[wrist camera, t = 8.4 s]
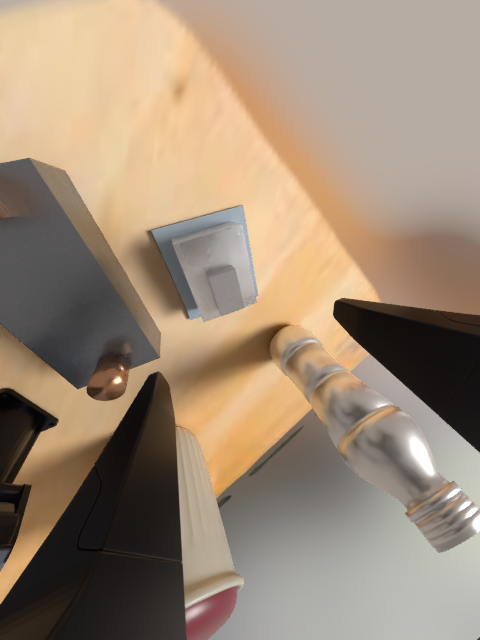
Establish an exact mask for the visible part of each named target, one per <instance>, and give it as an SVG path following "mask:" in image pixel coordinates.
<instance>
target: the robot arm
mask: <svg viewBox="0 0 480 640" xmlns="http://www.w3.org/2000/svg"><path fill="white" fill-rule="evenodd" d="M333 316H334V318H335V319H336V320H337V321H338V322H339V324H340V325H341V326H342V327H343V328H344V329H345V330H346V331H347V332H348V333H349V335H350V336H351V337H352V338H353V339H354V340H355V341H356V342H357V343H359V344H360V345H361V346H362V347H363V348H364V349H365V350H366V351H367V352H369V353H370V354H371V355H372V356H373V357H374V358H375V359H376V360H378V361H379V362H380V363H381V364H382V365H383V366H384V367H385V368H386V369H387V370H389V371H390V372H391V373H392V374H393V375H394V376H395V377H396V378H397V379H399V380H400V381H401V382H402V383H403V384H404V385H405V386H406V387H408V388H409V389H410V390H411V391H412V392H413V393H414V394H415V395H416V396H418V397H419V398H420V399H421V400H422V401H423V402H424V403H425V404H426V405H428V406H429V407H430V408H431V409H432V410H433V411H434V412H435V413H436V414H438V415H439V416H440V417H441V418H442V419H443V420H444V421H445V422H446V423H447V424H449V425H450V426H451V427H452V428H453V429H454V430H455V431H457V433H459V434H460V435H461V436H462V437H463V438H464V439H465V440H466V441H467V442H469V443H470V444H471V445H472V446H473V447H474V448H475V449H477V451H479V452H480V315H472V314H462V313H454V312H446V311H439V310H436V311H435V310H431V309H423V308H415V307H407V306H400V305H392V304H385V303H377V302H370V301H362V300H355V299H347V298H341V299H339V300H336V301H335V303H334V311H333ZM57 423H58V419H57V418H55V417H54V416H52V415H51V414H49V413H48V412H46V411H45V410H43V409H42V408H40V407H38V406H37V405H35V404H34V403H32V402H31V401H29V400H28V399H26V398H25V397H23V396H22V395H20V394H19V393H17V392H16V391H14V390H12V389H3V390H0V571H1V569H2V568H3V566H4V565H5V563H6V561H7V559H8V557H9V555H10V553H11V551H12V549H13V547H14V545H15V542H16V539H17V536H18V533H19V529H20V526H21V522H22V519H23V515H24V512H25V508H26V504H27V501H28V497H29V494H30V490H31V487H32V485H28V484H24V485H16V484H12V483H13V482H14V480H15V478H16V476H17V474H18V472H19V471H20V469H21V467H22V465H23V463H24V461H25V460H26V458H27V456H28V454H29V452H30V451H31V449H32V447H33V445H34V443H35V441H36V440H37V438H38V436H39V434H40V432H42V431H44V430H47V429H49V428H52V427H54V426H56V425H57ZM0 640H187V635H186V616H185V597H184V577H183V563H182V542H181V522H180V503H179V484H178V465H177V445H176V426H175V416H174V410H173V405H172V399H171V393H170V388H169V384H168V382H167V381H166V379H165V378H164V377H163V375H162V374H161V373H160V372H156V373H153V374H151V375H149V376H148V378H147V380H146V381H145V383H144V385H143V386H142V388H141V389H140V391H139V393H138V394H137V396H136V398H135V399H134V401H133V402H132V404H131V406H130V407H129V409H128V411H127V412H126V414H125V416H124V417H123V419H122V420H121V422H120V424H119V425H118V427H117V429H116V430H115V432H114V433H113V435H112V437H111V438H110V440H109V442H108V443H107V445H106V446H105V448H104V450H103V451H102V453H101V455H100V456H99V458H98V460H97V461H96V463H95V466H94V467H93V468H92V469H91V471H90V472H89V474H88V476H87V477H86V479H85V481H84V482H83V484H82V485H81V487H80V488H79V490H78V492H77V493H76V495H75V496H74V498H73V499H72V501H71V503H70V504H69V506H68V507H67V509H66V510H65V512H64V513H63V514H62V516H61V517H60V519H59V520H58V522H57V523H56V525H55V526H54V528H53V529H52V531H51V532H50V534H49V535H48V537H47V538H46V539H45V541H44V542H43V544H42V545H41V547H40V548H39V550H38V551H37V552H36V554H35V555H34V557H33V558H32V560H31V561H30V563H29V564H28V565H27V567H26V568H25V570H24V571H23V573H22V574H21V576H20V577H19V579H18V580H17V581H16V583H15V584H14V586H13V587H12V589H11V590H10V592H9V593H8V594H7V596H6V597H5V599H4V600H3V602H2V603H1V604H0ZM477 640H480V637H479V638H478V639H477Z"/></svg>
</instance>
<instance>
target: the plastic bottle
mask: <svg viewBox="0 0 480 640" xmlns="http://www.w3.org/2000/svg"><path fill="white" fill-rule="evenodd" d="M270 354H271V357H272V359H273V361H274V363H275V365H276V366H277V367H278V368H279V369H280V370H281V371H282V372H283V373H284V374H285V375H286V376H288V377H289V378H290V379H291V381H292V382H293V383H294V384H295V385H296V386H297V387H298V389H299V390H300V391H301V392H302V393H303V394H304V396H305V397H306V399H307V400H308V402H309V403H310V404H311V406H312V408H313V409H314V411H315V412H316V414H317V415H318V417H319V418H320V420H321V421H322V423H323V425H324V427H325V428H326V430H327V432H328V434H329V435H330V437H331V439H332V441H333V442H334V444H335V446H336V448H337V449H338V450H339V453H340V455H341V456H342V458H343V459H344V461H345V463H346V464H347V465H348V466H349V467H350V468H351V469H352V470H353V471H354V472H355V473H356V474H357V475H358V476H360V477H362V478H363V479H365V480H366V481H368V482H369V483H371V484H372V485H374V486H376V487H377V488H379V489H381V490H383V491H385V492H387V493H388V494H390V495H392V496H394V497H396V498H397V499H398V500H399V501H400V502H401V503H402V504H404V506H405V507H406V508H407V512H406V513H405V514H406V516H407V517H408V518H409V519H410V521H411V522H412V521H413V522H414V523H415V525H416V526H417V527H418V528H419V530H420V531H421V532H422V533H423V535H424V536H425V537H426V538H427V540H428V541H429V543H430V544H431V545H432V546H433V547H434V548H435V549H436V550H437V552H438V553H439V552H443V551H446V550H449V549H451V548H453V547H455V546H457V545H458V544H460V543H462V542H464V541H466V540H467V539H469V538H470V537H472V536H473V535H475V534H476V533H478V532H479V531H480V508H479V507H478V506H477V505H476V504H475V503H474V502H473V501H472V500H471V499H470V498H469V497H467V495H465V493H463V491H462V490H461V489H462V488H461V487H459V485H458V484H457V483H455V482H454V481H452V482H451V483H450V482H448V481H447V480H446V479H445V478H444V477H443V476H442V475H441V474H440V472H439V471H438V469H437V467H436V464H435V461H434V458H433V455H432V453H431V450H430V447H429V445H428V443H427V441H426V439H425V437H424V435H423V432H422V430H421V429H420V428H419V427H418V425H417V424H416V423H415V421H413V419H412V418H411V417H410V416H409V415H408V414H407V413H405V412H404V411H403V410H401V409H400V408H399V407H396V406H395V405H394V404H393V403H391V402H390V401H389V400H387V399H386V398H384V397H383V396H381V395H380V394H378V393H377V392H375V391H374V390H372V389H371V388H370V387H368V386H367V385H365V384H364V383H363V382H362V381H360V380H359V379H358V378H357V377H355V376H354V375H353V374H352V373H349V371H348V370H347V369H345V368H344V367H343V366H342V365H341V364H340V363H339V362H338V361H337V360H336V359H335V358H334V357H333V356H332V355H331V354H330V353H329V352H328V351H327V350H326V349H325V348H324V347H323V345H322V344H321V342H320V341H319V339H318V338H317V337H316V336H315V335H314V334H313V333H312V332H311V331H309V330H308V329H306V328H304V327H302V326H299V325H290V326H286V327H284V328H282V329H280V330H279V331H278V332H277V333H276V334H275V335H274V337H273V338H272V341H271V344H270Z"/></svg>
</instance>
